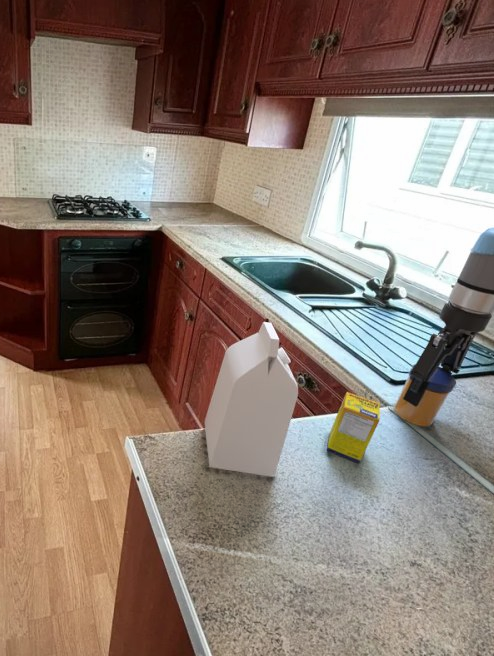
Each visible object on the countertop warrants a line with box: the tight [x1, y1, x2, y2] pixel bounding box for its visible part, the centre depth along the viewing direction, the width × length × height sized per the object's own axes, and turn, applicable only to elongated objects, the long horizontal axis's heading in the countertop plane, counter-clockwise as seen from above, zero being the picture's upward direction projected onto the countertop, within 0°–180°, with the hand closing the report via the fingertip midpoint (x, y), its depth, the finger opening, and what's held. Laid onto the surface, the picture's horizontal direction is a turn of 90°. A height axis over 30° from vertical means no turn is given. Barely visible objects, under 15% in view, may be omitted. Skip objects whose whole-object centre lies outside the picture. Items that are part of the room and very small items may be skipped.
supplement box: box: [326, 391, 381, 464], centre depth 78 cm, size 6×6×11 cm
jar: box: [393, 376, 451, 427], centre depth 90 cm, size 8×8×10 cm
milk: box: [204, 321, 299, 478], centre depth 72 cm, size 12×12×26 cm
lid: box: [408, 363, 457, 394], centre depth 88 cm, size 8×8×2 cm
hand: (421, 397), depth 90 cm, fingers closed on lid, 8 cm apart
